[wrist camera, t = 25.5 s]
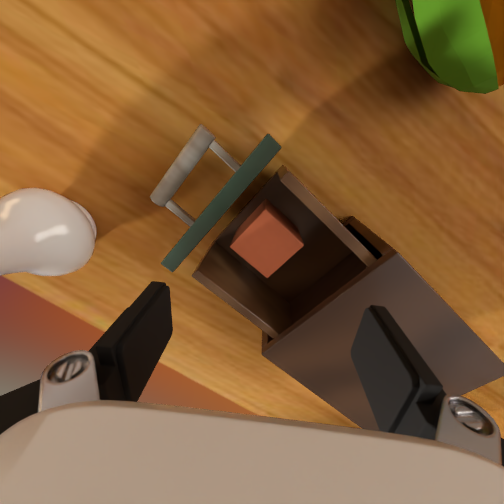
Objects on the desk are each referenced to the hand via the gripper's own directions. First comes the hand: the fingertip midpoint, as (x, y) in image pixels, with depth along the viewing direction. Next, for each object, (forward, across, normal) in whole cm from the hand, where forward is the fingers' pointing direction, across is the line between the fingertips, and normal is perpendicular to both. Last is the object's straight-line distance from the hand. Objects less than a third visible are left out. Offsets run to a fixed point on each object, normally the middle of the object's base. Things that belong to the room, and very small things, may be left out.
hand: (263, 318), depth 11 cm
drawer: (+15, 0, 0) cm, 15 cm away
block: (+14, 0, 0) cm, 14 cm away
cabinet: (+16, -11, +8) cm, 21 cm away
